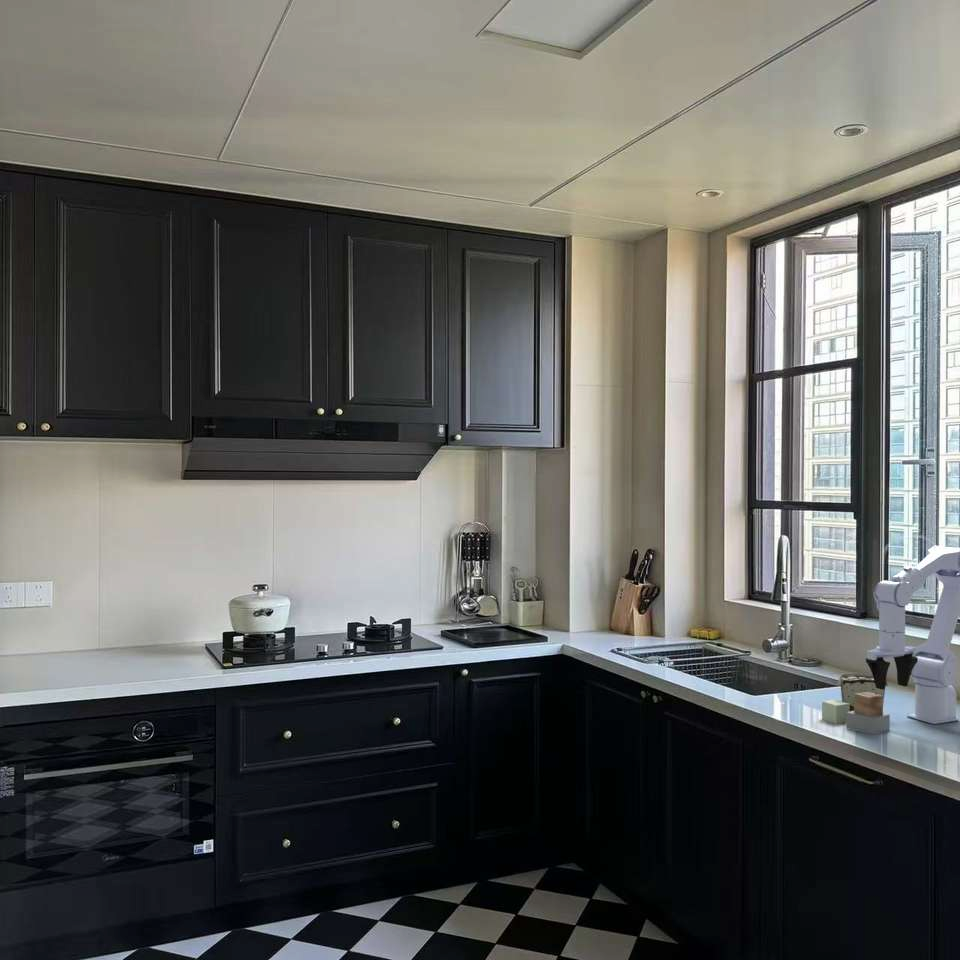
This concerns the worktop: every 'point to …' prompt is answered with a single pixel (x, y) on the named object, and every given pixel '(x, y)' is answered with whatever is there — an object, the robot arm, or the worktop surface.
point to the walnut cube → (868, 704)
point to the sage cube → (835, 711)
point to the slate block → (868, 722)
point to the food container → (857, 686)
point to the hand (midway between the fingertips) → (891, 687)
